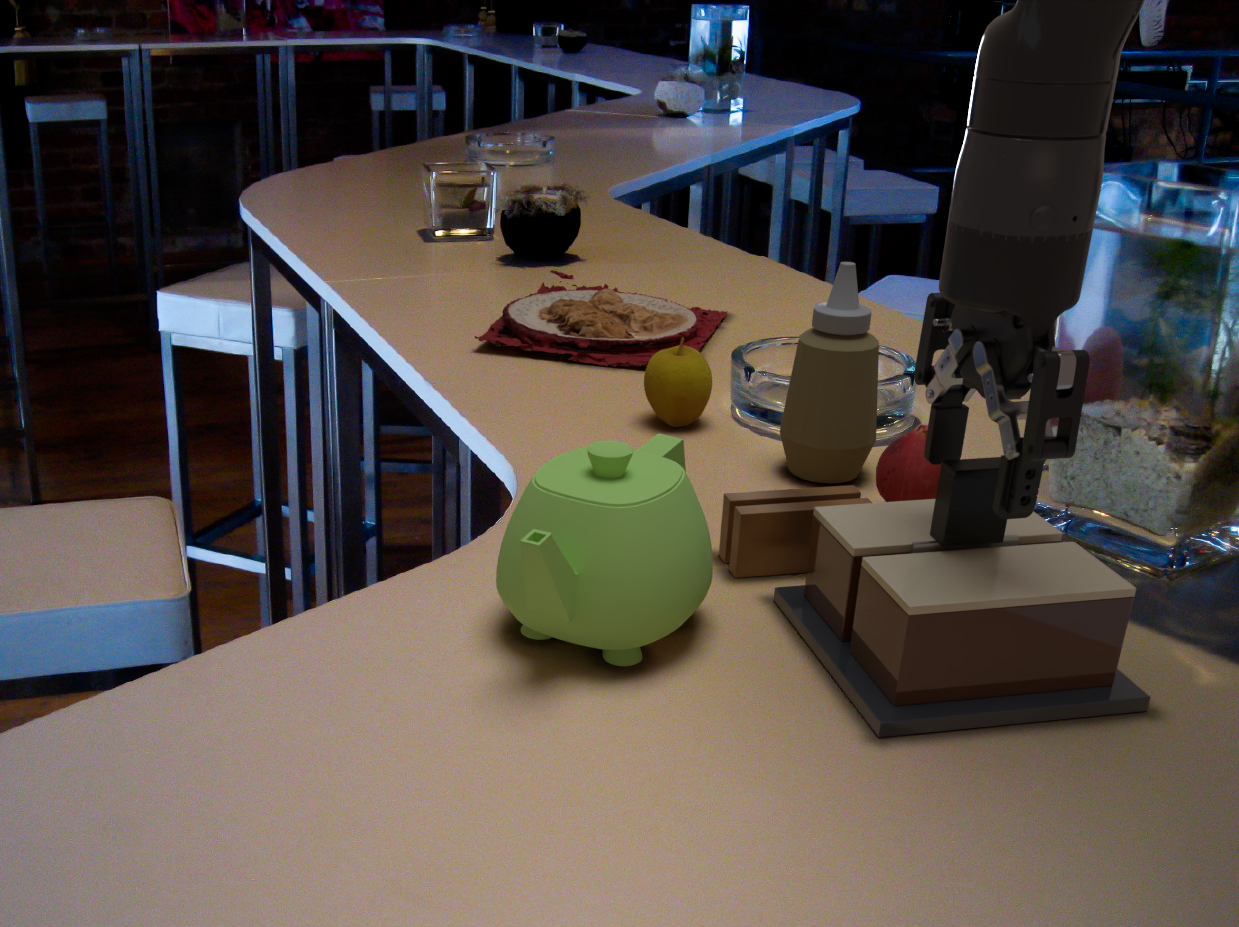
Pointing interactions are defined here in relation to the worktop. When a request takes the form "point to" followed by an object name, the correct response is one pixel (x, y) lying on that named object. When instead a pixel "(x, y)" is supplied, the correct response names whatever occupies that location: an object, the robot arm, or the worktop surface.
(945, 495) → the knife
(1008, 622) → the cake
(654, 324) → the plate with food
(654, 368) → the apple
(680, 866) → the worktop surface
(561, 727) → the worktop surface
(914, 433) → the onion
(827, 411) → the squeeze bottle
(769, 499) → the knife block
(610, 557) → the teapot
